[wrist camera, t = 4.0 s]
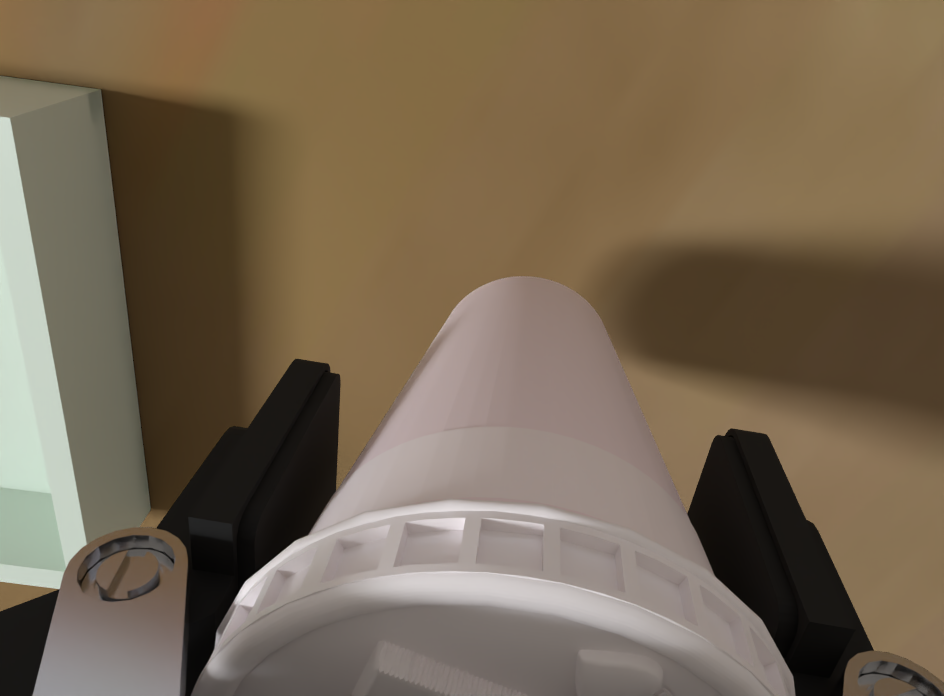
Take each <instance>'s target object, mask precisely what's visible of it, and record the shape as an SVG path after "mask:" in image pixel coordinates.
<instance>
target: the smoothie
mask: <svg viewBox="0 0 944 696" xmlns="http://www.w3.org/2000/svg"><path fill="white" fill-rule="evenodd" d="M191 696H795V687H794V679H793V675H792V673H791V672H790V670H789V668H788V666H787V664H786V663H785V661H784V659H783V657H782V655H781V653H780V652H779V650H778V648H777V646H776V644H775V643H774V641H773V639H772V637H771V635H770V634H769V632H768V630H767V628H766V626H765V624H764V623H763V621H762V619H761V618H760V617H758V616H757V615H756V614H755V613H754V612H753V611H752V610H751V609H750V608H749V607H748V606H747V605H745V604H744V603H743V602H742V601H741V600H740V599H739V598H738V597H737V596H736V595H735V594H734V593H732V592H731V591H730V590H729V589H728V588H727V587H726V586H725V585H724V584H723V583H722V582H721V581H719V580H718V579H717V578H716V577H715V575H714V573H713V570H712V568H711V566H710V563H709V561H708V558H707V556H706V554H705V551H704V549H703V546H702V544H701V542H700V539H699V537H698V535H697V533H696V531H695V529H694V527H693V526H692V524H691V522H690V519H689V517H688V515H687V513H686V510H685V508H684V506H683V504H682V501H681V499H680V497H679V495H678V492H677V490H676V488H675V485H674V483H673V481H672V479H671V476H670V474H669V472H668V470H667V467H666V465H665V463H664V460H663V458H662V456H661V454H660V451H659V449H658V447H657V445H656V442H655V440H654V438H653V435H652V433H651V431H650V429H649V426H648V424H647V422H646V420H645V417H644V415H643V413H642V410H641V408H640V406H639V404H638V401H637V399H636V397H635V395H634V392H633V390H632V388H631V385H630V383H629V381H628V379H627V376H626V374H625V372H624V370H623V367H622V365H621V363H620V361H619V358H618V356H617V354H616V351H615V349H614V347H613V345H612V342H611V340H610V338H609V336H608V333H607V331H606V329H605V326H604V324H603V322H602V320H601V318H600V317H599V315H598V314H597V312H596V311H595V309H594V308H593V307H592V306H591V305H590V304H589V303H588V302H587V301H586V300H585V299H584V298H583V297H582V296H580V295H579V294H578V293H576V292H575V291H573V290H572V289H570V288H568V287H566V286H564V285H562V284H560V283H557V282H554V281H552V280H548V279H544V278H538V277H529V276H517V277H508V278H503V279H499V280H496V281H492V282H490V283H487V284H485V285H483V286H481V287H479V288H477V289H476V290H474V291H473V292H471V293H470V294H468V295H467V296H466V297H465V298H464V299H463V300H462V301H461V302H460V303H459V304H458V305H457V306H456V307H455V308H454V310H453V311H452V313H451V314H450V316H449V317H448V319H447V320H446V322H445V324H444V325H443V327H442V328H441V330H440V331H439V333H438V334H437V336H436V338H435V339H434V341H433V342H432V344H431V345H430V347H429V348H428V350H427V352H426V353H425V355H424V356H423V358H422V359H421V361H420V362H419V364H418V366H417V367H416V369H415V370H414V372H413V373H412V375H411V376H410V378H409V379H408V381H407V383H406V384H405V386H404V387H403V389H402V390H401V392H400V393H399V395H398V397H397V398H396V400H395V401H394V403H393V404H392V406H391V407H390V409H389V411H388V412H387V414H386V415H385V417H384V418H383V420H382V421H381V423H380V425H379V426H378V428H377V429H376V431H375V432H374V434H373V435H372V437H371V439H370V440H369V442H368V443H367V445H366V446H365V448H364V449H363V451H362V453H361V454H360V456H359V457H358V459H357V460H356V462H355V463H354V465H353V466H352V468H351V470H350V471H349V473H348V474H347V476H346V477H345V479H344V480H343V482H342V484H341V485H340V487H339V488H338V490H337V491H336V492H335V493H334V494H333V496H332V497H331V499H330V500H329V502H328V503H327V505H326V506H325V508H324V510H323V511H322V513H321V515H320V516H319V518H318V519H317V521H316V523H315V524H314V526H313V528H312V529H311V531H310V532H309V534H308V535H307V536H305V537H302V538H300V539H298V540H296V541H294V542H293V543H292V544H291V545H289V546H288V547H287V548H286V549H284V550H283V551H282V552H281V553H280V554H278V555H277V556H276V557H275V558H273V559H272V560H271V561H270V562H269V563H267V564H266V565H265V566H264V567H262V568H261V569H260V570H259V571H258V572H256V573H255V574H254V575H253V576H251V577H250V578H249V579H248V580H247V581H245V583H244V584H243V586H242V588H241V590H240V591H239V593H238V595H237V596H236V598H235V600H234V602H233V603H232V605H231V607H230V608H229V610H228V612H227V614H226V615H225V617H224V619H223V621H222V622H221V624H220V626H219V627H218V629H217V632H216V640H215V648H214V651H213V653H212V655H211V657H210V659H209V661H208V663H207V664H206V666H205V667H204V669H203V671H202V672H201V674H200V676H199V678H198V680H197V682H196V684H195V687H194V689H193V691H192V694H191Z"/></svg>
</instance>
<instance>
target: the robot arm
mask: <svg viewBox="0 0 944 696" xmlns="http://www.w3.org/2000/svg"><path fill="white" fill-rule="evenodd" d="M339 405H340V375H339V374H335V373H330V366H329V364H326V363H320V362H314V361H307V360H301V359H295V360H294V361H293V362H292V363H291V365H290V366H289V368H288V369H287V371H286V372H285V374H284V375H283V377H282V378H281V380H280V381H279V383H278V384H277V386H276V387H275V389H274V390H273V392H272V393H271V394H270V396H269V397H268V399H267V400H266V402H265V403H264V405H263V406H262V408H261V409H260V411H259V412H258V414H257V415H256V417H255V418H254V420H253V421H252V423H251V424H250V426H249V427H248V428H242V427H236V426H233V427H230V428H229V429H228V430H227V431H226V432H225V433H224V435H223V436H222V437H221V439H220V440H219V442H218V443H217V444H216V446H215V447H214V448H213V450H212V451H211V453H210V454H209V455H208V457H207V458H206V460H205V461H204V462H203V464H202V465H201V467H200V468H199V469H198V471H197V472H196V474H195V475H194V476H193V478H192V479H191V481H190V482H189V483H188V485H187V486H186V488H185V489H184V490H183V492H182V493H181V495H180V496H179V497H178V499H177V500H176V501H175V503H174V504H173V506H172V507H171V508H170V510H169V511H168V513H167V514H166V515H165V517H164V518H163V520H162V521H161V522H160V524H159V525H158V527H157V528H152V527H132V528H127V529H122V530H117V531H113V532H111V533H108V534H106V535H103V536H101V537H98V538H96V539H95V540H93V541H92V542H90V543H89V544H87V545H85V546H84V547H82V548H81V549H80V550H79V551H78V552H77V553H76V554H75V555H74V557H73V558H72V559H71V560H70V561H69V563H68V565H67V567H66V570H65V572H64V574H63V578H62V582H61V585H60V589H59V590H57V591H54V592H51V593H49V594H46V595H43V596H41V597H38V598H35V599H33V600H30V601H27V602H24V603H22V604H19V605H16V606H14V607H11V608H8V609H6V610H3V611H0V696H191V694H192V691H193V689H194V687H195V684H196V682H197V680H198V678H199V676H200V674H201V672H202V671H203V669H204V667H205V666H206V664H207V663H208V661H209V659H210V657H211V655H212V653H213V651H214V648H215V640H216V632H217V629H218V627H219V626H220V624H221V622H222V621H223V619H224V617H225V615H226V614H227V612H228V610H229V608H230V607H231V605H232V603H233V602H234V600H235V598H236V596H237V595H238V593H239V591H240V590H241V588H242V586H243V584H244V583H245V581H247V580H248V579H249V578H250V577H251V576H253V575H254V574H255V573H256V572H258V571H259V570H260V569H261V568H262V567H264V566H265V565H266V564H267V563H269V562H270V561H271V560H272V559H273V558H275V557H276V556H277V555H278V554H280V553H281V552H282V551H283V550H284V549H286V548H287V547H288V546H289V545H291V544H292V543H293V542H294V541H296V540H298V539H300V538H302V537H305V536H307V535H308V534H309V532H310V531H311V529H312V528H313V526H314V524H315V523H316V521H317V519H318V518H319V516H320V515H321V513H322V511H323V510H324V508H325V506H326V505H327V503H328V502H329V500H330V499H331V497H332V496H333V494H334V493H335V492H336V476H337V452H338V428H339ZM687 515H688V517H689V519H690V522H691V524H692V526H693V527H694V529H695V531H696V533H697V535H698V537H699V539H700V542H701V544H702V546H703V549H704V551H705V554H706V556H707V558H708V561H709V563H710V566H711V568H712V570H713V573H714V575H715V577H716V578H717V579H718V580H719V581H721V582H722V583H723V584H724V585H725V586H726V587H727V588H728V589H729V590H730V591H731V592H732V593H734V594H735V595H736V596H737V597H738V598H739V599H740V600H741V601H742V602H743V603H744V604H745V605H747V606H748V607H749V608H750V609H751V610H752V611H753V612H754V613H755V614H756V615H757V616H758V617H760V618H761V619H762V621H763V623H764V624H765V626H766V628H767V630H768V632H769V634H770V635H771V637H772V639H773V641H774V643H775V644H776V646H777V648H778V650H779V652H780V653H781V655H782V657H783V659H784V661H785V663H786V664H787V666H788V668H789V670H790V672H791V673H792V675H793V679H794V687H795V696H944V683H943V682H942V681H941V680H940V679H938V678H937V677H936V676H934V675H933V674H932V673H930V672H929V671H928V670H926V669H925V668H923V667H921V666H919V665H918V664H916V663H914V662H912V661H910V660H908V659H906V658H903V657H900V656H897V655H895V654H892V653H889V652H880V651H874V650H873V648H872V645H871V643H870V641H869V639H868V637H867V635H866V633H865V630H864V628H863V626H862V624H861V622H860V620H859V618H858V615H857V613H856V611H855V609H854V607H853V605H852V603H851V600H850V598H849V596H848V594H847V592H846V590H845V588H844V585H843V583H842V581H841V579H840V577H839V575H838V572H837V570H836V568H835V566H834V564H833V562H832V560H831V557H830V555H829V553H828V551H827V549H826V547H825V545H824V542H823V540H822V538H821V536H820V534H819V532H818V530H817V528H816V527H815V525H814V524H813V523H811V522H810V521H808V520H806V518H805V516H804V514H803V512H802V510H801V507H800V505H799V503H798V501H797V499H796V496H795V494H794V492H793V490H792V488H791V485H790V483H789V481H788V479H787V477H786V474H785V472H784V470H783V468H782V465H781V463H780V461H779V459H778V457H777V454H776V452H775V450H774V448H773V446H772V443H771V441H770V439H769V437H768V436H767V435H766V434H762V433H756V432H750V431H744V430H738V429H730V430H728V432H727V433H726V435H725V436H721V435H717V436H716V437H715V438H714V440H713V442H712V444H711V447H710V450H709V453H708V456H707V459H706V462H705V465H704V468H703V470H702V473H701V476H700V479H699V482H698V485H697V488H696V491H695V494H694V497H693V499H692V502H691V505H690V508H689V511H688V514H687Z"/></svg>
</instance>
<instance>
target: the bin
mask: <svg viewBox="0 0 944 696" xmlns="http://www.w3.org/2000/svg"><path fill="white" fill-rule="evenodd" d="M150 510H151V506H150V498H149V489H148V481H147V473H146V464H145V456H144V447H143V439H142V431H141V422H140V414H139V405H138V397H137V389H136V380H135V372H134V363H133V355H132V347H131V338H130V330H129V321H128V313H127V305H126V296H125V288H124V279H123V271H122V263H121V254H120V246H119V237H118V229H117V221H116V212H115V204H114V195H113V187H112V179H111V170H110V162H109V153H108V145H107V137H106V128H105V120H104V111H103V103H102V95H101V89H95V88H87V87H80V86H73V85H65V84H58V83H51V82H43V81H36V80H29V79H21V78H14V77H7V76H0V582H8V583H16V584H24V585H32V586H40V587H48V588H56V589H60V585H61V582H62V578H63V574H64V572H65V570H66V567H67V565H68V563H69V561H70V560H71V559H72V558H73V557H74V555H75V554H76V553H77V552H78V551H79V550H80V549H81V548H82V547H84V546H85V545H87V544H89V543H90V542H92V541H93V540H95V539H96V538H98V537H101V536H103V535H106V534H108V533H111V532H113V531H117V530H122V529H127V528H132V527H140V525H141V524H142V522H143V521H144V519H145V518H146V516H147V515H148V513H149V512H150Z"/></svg>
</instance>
